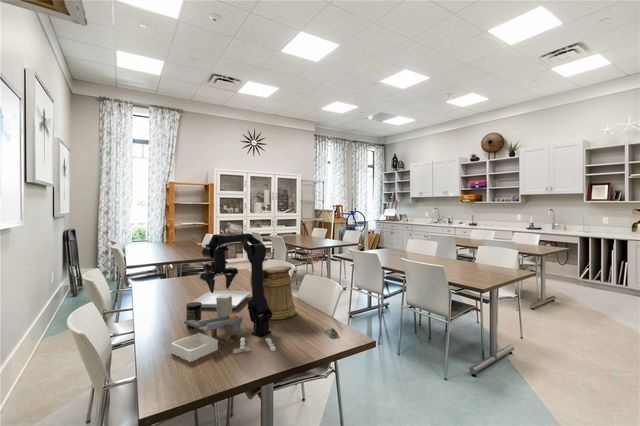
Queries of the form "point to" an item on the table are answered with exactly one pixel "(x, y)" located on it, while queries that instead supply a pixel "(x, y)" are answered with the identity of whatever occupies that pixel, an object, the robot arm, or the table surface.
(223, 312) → the skincare box
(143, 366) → the table surface
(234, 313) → the ball
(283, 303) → the tankard
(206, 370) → the table surface
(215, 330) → the pivot stand
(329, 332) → the game pieces
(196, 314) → the supplement container
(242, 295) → the square plate
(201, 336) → the white open tray
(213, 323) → the tipping lever
